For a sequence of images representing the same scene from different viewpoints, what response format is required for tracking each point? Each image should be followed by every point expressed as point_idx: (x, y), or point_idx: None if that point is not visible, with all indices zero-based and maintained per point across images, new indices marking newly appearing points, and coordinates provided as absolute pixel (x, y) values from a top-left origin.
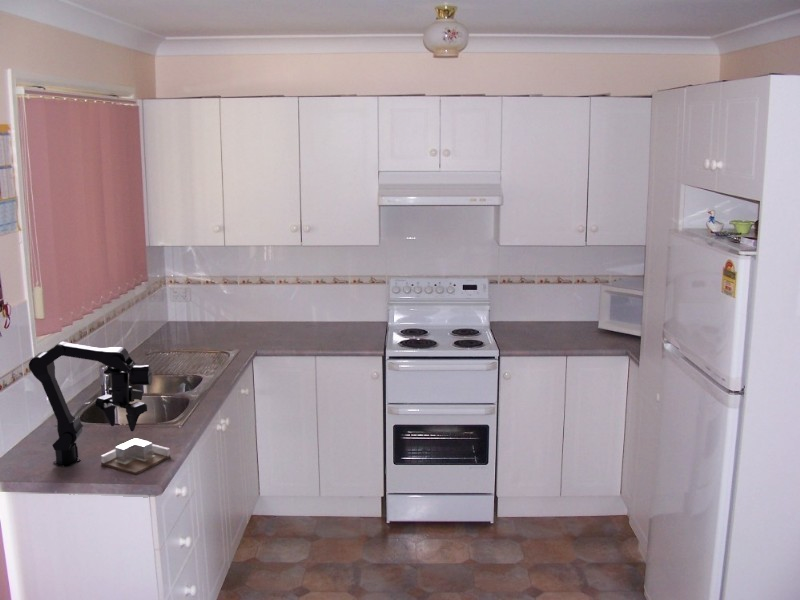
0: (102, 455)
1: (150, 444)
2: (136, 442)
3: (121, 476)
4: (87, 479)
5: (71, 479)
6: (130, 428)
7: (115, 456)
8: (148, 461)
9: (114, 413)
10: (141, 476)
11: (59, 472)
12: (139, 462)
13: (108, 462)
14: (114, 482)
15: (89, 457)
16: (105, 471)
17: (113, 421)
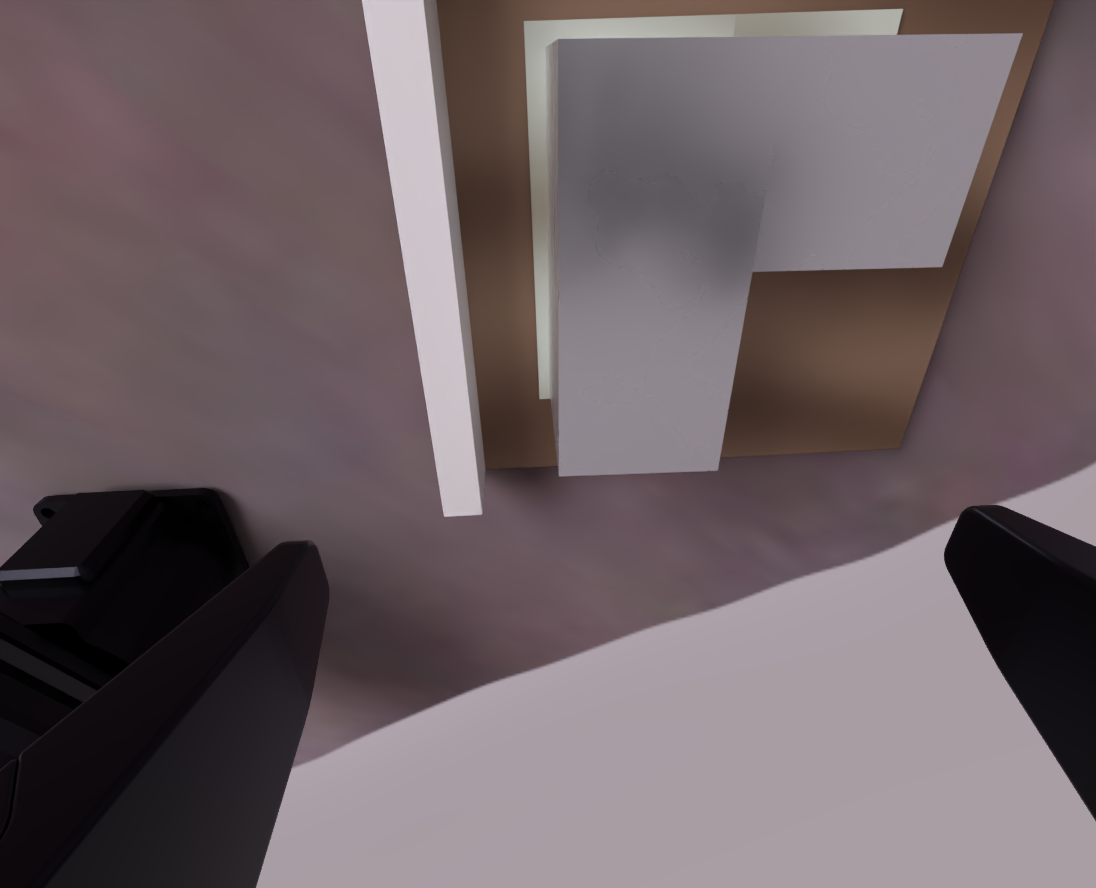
0: (454, 506)
1: (989, 85)
2: (728, 200)
3: (775, 501)
4: (577, 630)
5: (483, 671)
6: (1017, 651)
7: (468, 334)
8: None
9: (73, 871)
10: (942, 425)
11: None
12: (802, 278)
13: (508, 439)
14: (789, 577)
15: (189, 403)
16: (586, 507)
17: (282, 649)
